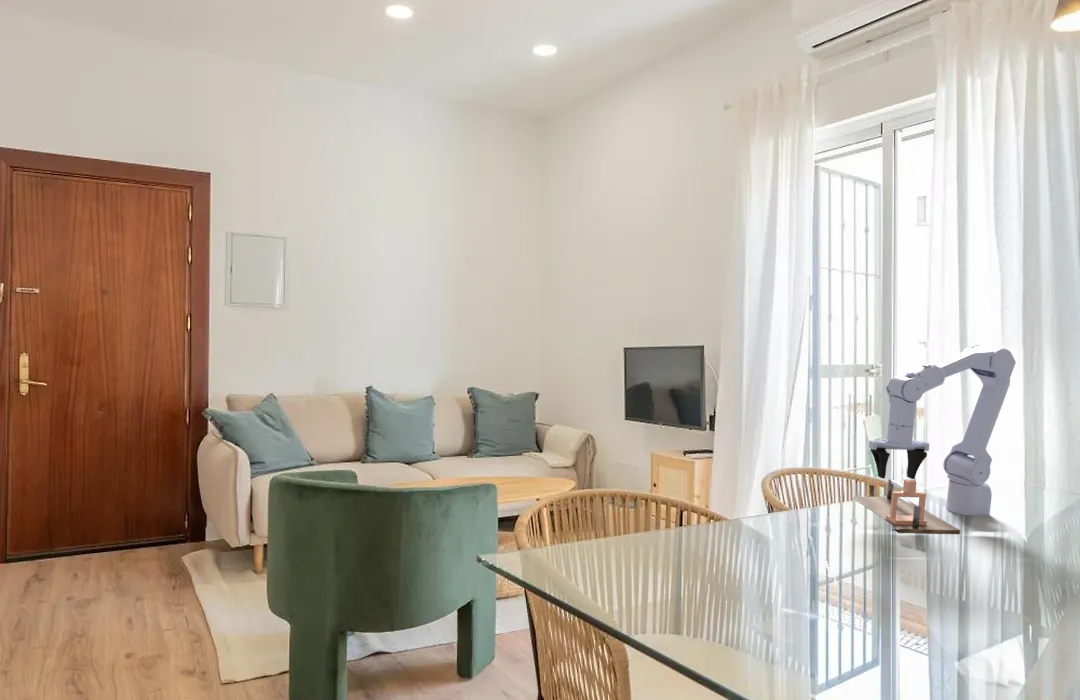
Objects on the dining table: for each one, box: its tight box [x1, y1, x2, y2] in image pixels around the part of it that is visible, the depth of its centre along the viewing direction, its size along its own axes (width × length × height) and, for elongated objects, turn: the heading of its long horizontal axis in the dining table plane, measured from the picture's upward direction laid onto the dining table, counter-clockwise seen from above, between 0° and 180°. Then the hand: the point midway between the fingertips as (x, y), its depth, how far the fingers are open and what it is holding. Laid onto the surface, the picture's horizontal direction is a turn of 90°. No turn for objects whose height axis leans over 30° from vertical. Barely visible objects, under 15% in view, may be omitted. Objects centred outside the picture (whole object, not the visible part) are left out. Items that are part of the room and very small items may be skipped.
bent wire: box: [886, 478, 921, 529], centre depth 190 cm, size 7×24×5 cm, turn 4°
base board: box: [850, 496, 961, 535], centre depth 190 cm, size 15×25×1 cm, turn 4°
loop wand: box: [886, 478, 927, 526], centre depth 182 cm, size 8×4×10 cm, turn 93°
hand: (895, 477), depth 188 cm, fingers open, 7 cm apart
